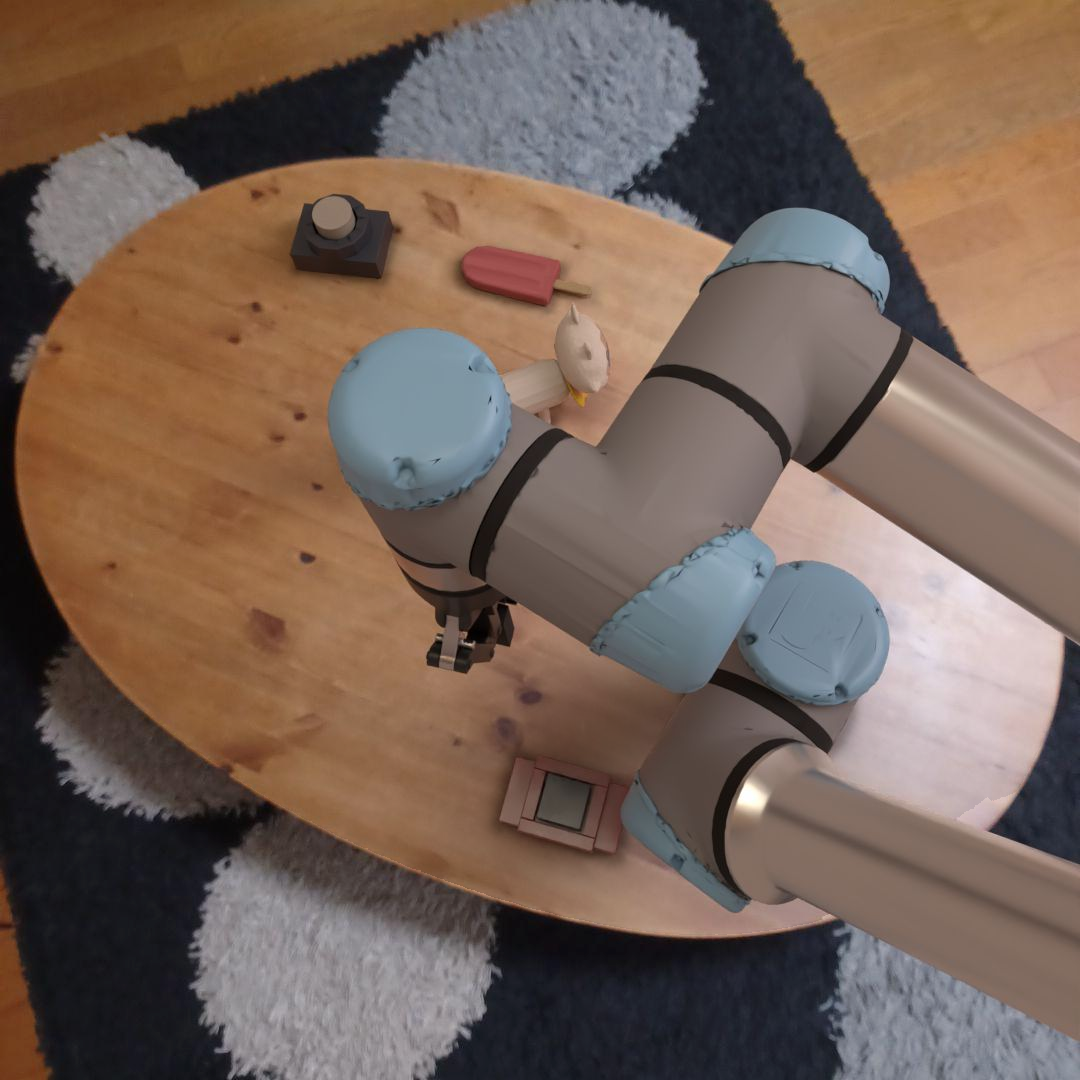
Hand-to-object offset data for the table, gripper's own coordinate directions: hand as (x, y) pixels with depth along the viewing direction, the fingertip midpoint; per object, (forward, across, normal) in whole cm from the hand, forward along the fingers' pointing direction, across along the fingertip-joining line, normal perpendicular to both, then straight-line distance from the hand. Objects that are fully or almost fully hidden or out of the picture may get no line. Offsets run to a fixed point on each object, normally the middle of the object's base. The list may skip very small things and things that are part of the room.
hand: (495, 634), depth 77 cm
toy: (+23, -28, -6) cm, 37 cm away
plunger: (+19, -46, -31) cm, 58 cm away
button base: (+23, -46, -31) cm, 60 cm away
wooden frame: (+23, +10, +7) cm, 25 cm away
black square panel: (+19, +10, +7) cm, 22 cm away
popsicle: (+23, -46, -10) cm, 52 cm away
